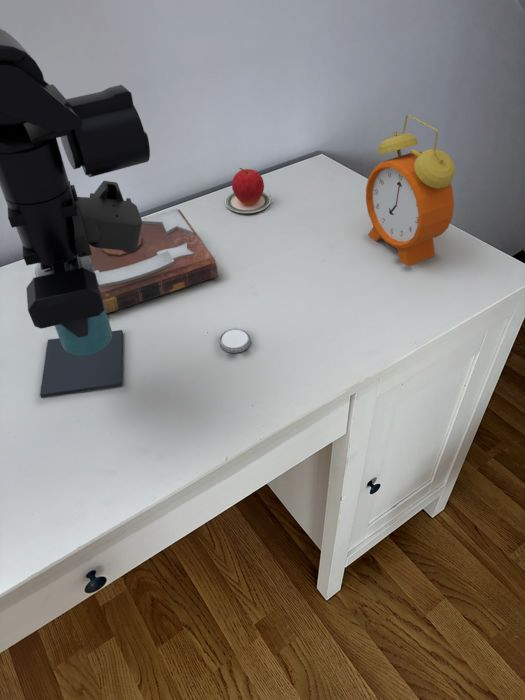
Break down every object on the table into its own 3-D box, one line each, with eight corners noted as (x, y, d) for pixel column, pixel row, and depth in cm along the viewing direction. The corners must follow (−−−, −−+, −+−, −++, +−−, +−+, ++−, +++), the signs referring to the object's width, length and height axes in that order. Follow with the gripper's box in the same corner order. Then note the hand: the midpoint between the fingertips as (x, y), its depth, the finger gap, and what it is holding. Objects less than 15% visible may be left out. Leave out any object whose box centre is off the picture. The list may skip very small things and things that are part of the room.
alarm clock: (359, 231, 94) (372, 110, 80) (388, 220, 96) (406, 101, 82) (412, 273, 86) (437, 146, 71) (442, 260, 88) (473, 134, 73)
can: (59, 358, 62) (30, 286, 55) (64, 324, 66) (38, 253, 58) (111, 352, 62) (89, 279, 55) (113, 319, 66) (93, 247, 59)
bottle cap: (251, 351, 75) (250, 347, 74) (220, 353, 74) (220, 350, 74) (248, 330, 77) (248, 327, 77) (219, 333, 77) (219, 329, 77)
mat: (41, 397, 70) (39, 394, 70) (48, 342, 77) (47, 339, 77) (122, 386, 71) (121, 383, 71) (122, 332, 78) (122, 329, 78)
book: (69, 333, 79) (60, 308, 76) (43, 267, 88) (33, 242, 84) (218, 282, 86) (216, 257, 83) (180, 226, 95) (177, 201, 92)
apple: (221, 195, 103) (218, 162, 99) (264, 189, 105) (263, 156, 100) (230, 218, 98) (227, 184, 93) (275, 211, 99) (274, 177, 94)
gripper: (144, 224, 46) (170, 357, 57) (112, 132, 59) (138, 256, 70) (2, 252, 44) (57, 385, 55) (0, 150, 56) (45, 275, 67)
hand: (80, 318), depth 62 cm, fingers closed on can, 5 cm apart
